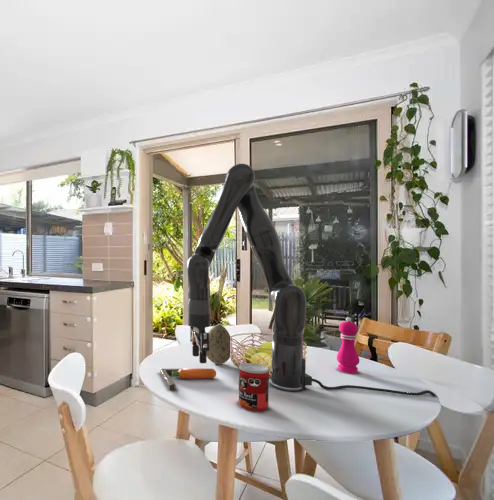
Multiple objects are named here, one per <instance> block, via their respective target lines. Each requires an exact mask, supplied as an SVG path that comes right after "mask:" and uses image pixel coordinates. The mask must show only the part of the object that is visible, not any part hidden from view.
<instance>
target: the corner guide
mask: <svg viewBox="0 0 494 500" xmlns="http://www.w3.org/2000/svg"><path fill="white" fill-rule="evenodd" d="M180 369H181V368H160V370H159V371H160V372H159V373H160V377H161V378H162V380H163V381H164V384H165V385H166V386H167V388H168V390H169V391H175V390H176V384H175V383H174V381H173V380H172V378H171V376H172V371H179V370H180ZM193 369H206V367H205V368H204V367H202V368H201V367H200V368H195V367H194V368H193Z"/></svg>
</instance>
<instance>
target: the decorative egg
mask: <svg viewBox="0 0 494 500" xmlns="http://www.w3.org/2000/svg"><path fill="white" fill-rule="evenodd" d="M207 333H209V351H207V359H208V360H209V361H210V362H211V363H213V364H216V365H222V364H224V363H227V361H229V360H230V358H231V357H230V337H231V334H230V333H229V331H228V330H227V328H226V327H225V326H223V325H221V324H216V325H214V326H212V328H211V329H209V331H208V332H207ZM203 348H205V347H204V346H203Z"/></svg>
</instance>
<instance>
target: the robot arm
mask: <svg viewBox="0 0 494 500" xmlns="http://www.w3.org/2000/svg"><path fill="white" fill-rule="evenodd" d="M255 180H256V174H255V171H254V169H253V168H252V166H250V165H249V164H246V163H237V164H234V165H232V166H231V167H230V168H229V169H228V170H227V172H226V174H225V179H224V184H223V188H222V190H221V191H222V192H221V194H220V196H219V199H218V201H217V203H216V206H215V207H214V209H213V211H212V213H211V214H210V217H208V220H207V222H206V224H205V225H204V228H203V230H202V232H201V235H200V237H199V239H198V243H197V246H196V248H195V250H194V251H193V254H192V255H191V256H190V257H189V258H188V260H187V279H188V301H187V302H188V303H187V326H189V341H190V343H191V344H190V345H191V346H192V347H191V348H192V350H191V351H192V352H191V353H192V354H191V355H192V357H198V358H199V359H198V361H199V363H200V364H207V359H208V358H207V351H209V333H208V332H206V328H209V327H211V301H210V285H209V268H210V266H211V264H212V262H213V260H214V257H215V255H216V252H217V250H218V248H219V247H220V245H221V244H222V241H223V239H224V237H225V235H226V233H227V230H228V228H229V226H230V223H231V220H232V219H233V216H234V214H235V211H236V210H238V213H239V216H240V220H241V223H242V227H243V230H244V233H245V236H246V238H247V241H248V243H249V246H250V248H251V251H252V253H253V255H254V257H255V259H256V262H257V263H258V266H259V268H260V269H261V272H262V274H263V276H264V279H265V283H266V287H267V289H268V293H269V297H270V300H271V303H272V304H273V306H274V320H273V322H272V326H271V367H270V372H271V373H270V374H271V377H270V379H271V380H270V385H271V386H272V387H274V388H276V389H279V390H283V391H288V392H290V391H291V392H299V391H302V390H306V386H313V383H316V384H318V385H319V387H321V388H322V389H324V390H343V389H358V390H368V391H374V392H375V391H376V392H381V393H382V392H383V393H390V394H397V395H404V396H414V397H415V396H416V397H417V396H423V395H426V394H429V395H431V396H432V397H437V395H436V394H435V393H434V392H433V391H431V390H429V389H428V390H427V389H425V390H421V391H418V392H411V391H402V390H394V389H387V388H378V387H372V386H364V385H363V386H361V385H351V384H343V385H338V386H326V385H325V384H323V383H322V381H320V380H318V379H316V378H313V376H311V375H310V374H308V373H306V369H307V368H306V365H307V364H306V361H307V360H306V358H304V331H305V330H304V329H305V327H306V320H307V319H306V318H307V296H306V294H305V291H304V290H303V289H302V288H301V287H300V286H297V285H296V284H295V283H294V282H293V281H292V279H291V277H290V274H289V272H288V270H287V267H286V265H285V264H286V263H285V260H284V253H283V247H282V243H281V239H280V237H279V234H278V232H277V230H276V227H275V225H274V223H273V221H272V219H271V218H270V216H269V215H268V213H267V211H266V210H265V209H264V207H263V206H262V204H261V202H260V199H259V197H258V194H257V191H256V188H255V184H254V183H255ZM204 347H205V348H204ZM407 392H408V393H407ZM409 392H410V393H409Z"/></svg>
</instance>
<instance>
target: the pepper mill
mask: <svg viewBox="0 0 494 500" xmlns="http://www.w3.org/2000/svg"><path fill="white" fill-rule="evenodd" d="M338 329H339V332H340V338H341V346H340V348H339V350H338V352H337V355H336V360H337V362H338V364H337V370H338V371H339V372H340V373H345V374H352V375H355V374H358V372H359V368H358V365H359V364H360V355H359V354H358V352H357V349H356V347H355V345H356V344H355V341H356V340H357V335H356V334H357V333H358V332H359V327H358V325H357V324H356V323H355V322H352V318H351V317H349V316H347V317H345V320H344V321H342V322H341V323H340V324H339V325H338Z"/></svg>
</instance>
